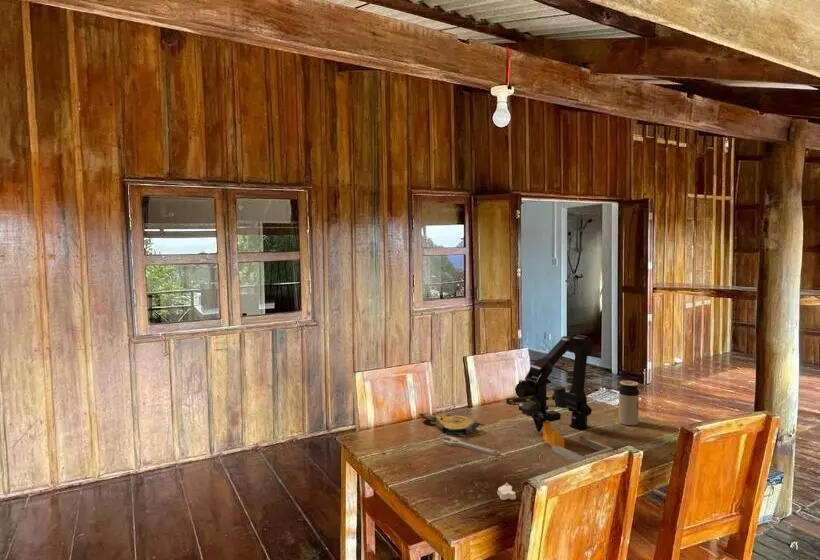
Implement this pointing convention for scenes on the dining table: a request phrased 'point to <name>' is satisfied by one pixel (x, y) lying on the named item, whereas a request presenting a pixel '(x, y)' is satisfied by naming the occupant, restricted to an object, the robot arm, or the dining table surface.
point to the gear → (506, 492)
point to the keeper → (582, 441)
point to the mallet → (557, 396)
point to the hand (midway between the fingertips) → (538, 431)
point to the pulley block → (453, 423)
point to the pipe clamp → (552, 435)
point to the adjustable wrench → (468, 446)
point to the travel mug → (628, 403)
